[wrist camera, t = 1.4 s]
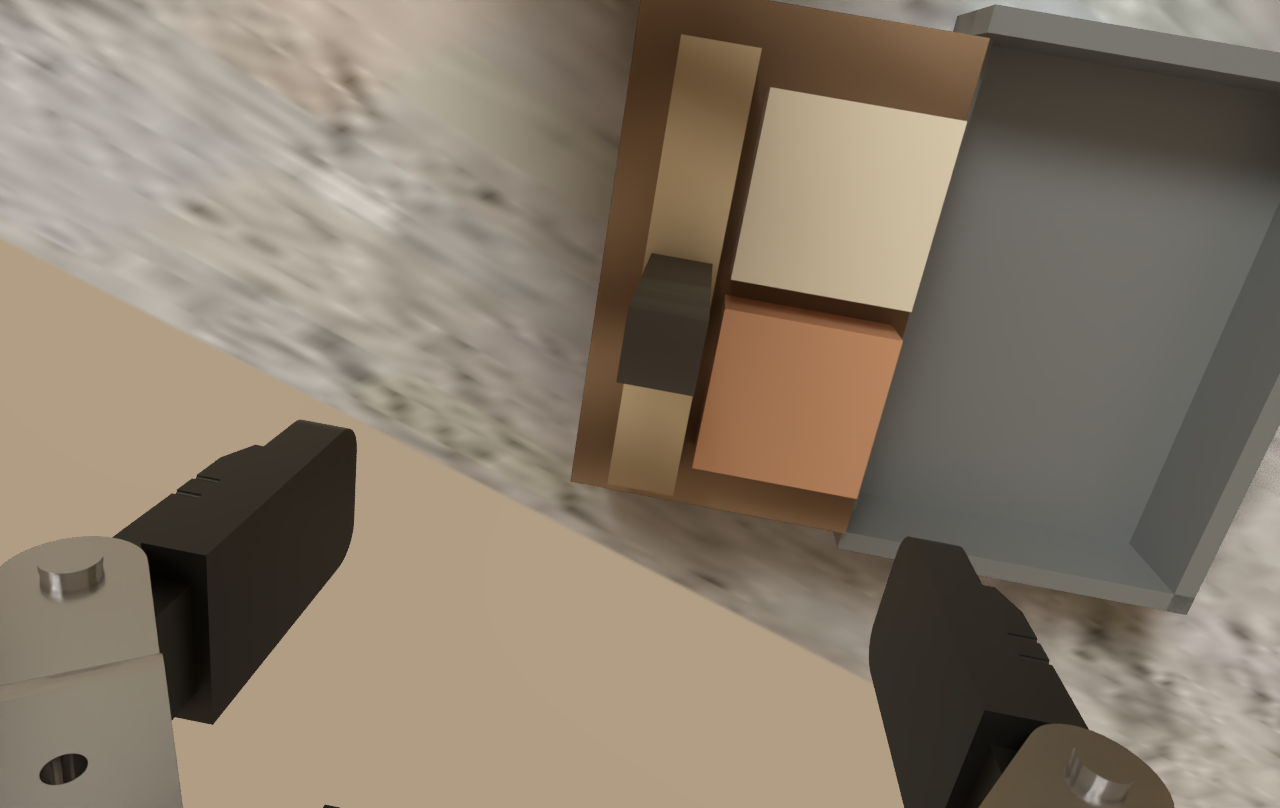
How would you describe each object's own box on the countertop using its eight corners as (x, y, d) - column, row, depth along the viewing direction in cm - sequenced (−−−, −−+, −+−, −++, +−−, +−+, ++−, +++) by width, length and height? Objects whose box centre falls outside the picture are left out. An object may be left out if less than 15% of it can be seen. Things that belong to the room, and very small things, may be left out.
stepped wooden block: (655, -5, 31) (643, -21, 26) (949, 45, 30) (990, 38, 26) (589, 432, 37) (570, 481, 33) (830, 477, 37) (845, 533, 32)
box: (957, 16, 30) (995, 4, 26) (1345, 81, 30) (1448, 81, 25) (824, 496, 37) (837, 548, 33) (1134, 555, 37) (1186, 614, 33)
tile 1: (724, 294, 29) (724, 308, 28) (891, 324, 29) (902, 341, 27) (693, 445, 32) (692, 468, 30) (848, 474, 31) (856, 498, 30)
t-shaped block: (685, 38, 27) (666, 14, 18) (758, 51, 27) (776, 33, 18) (615, 455, 32) (574, 594, 23) (676, 466, 32) (658, 610, 23)
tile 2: (767, 87, 27) (770, 87, 25) (950, 119, 27) (967, 121, 25) (730, 267, 29) (730, 279, 27) (899, 297, 29) (911, 312, 27)
